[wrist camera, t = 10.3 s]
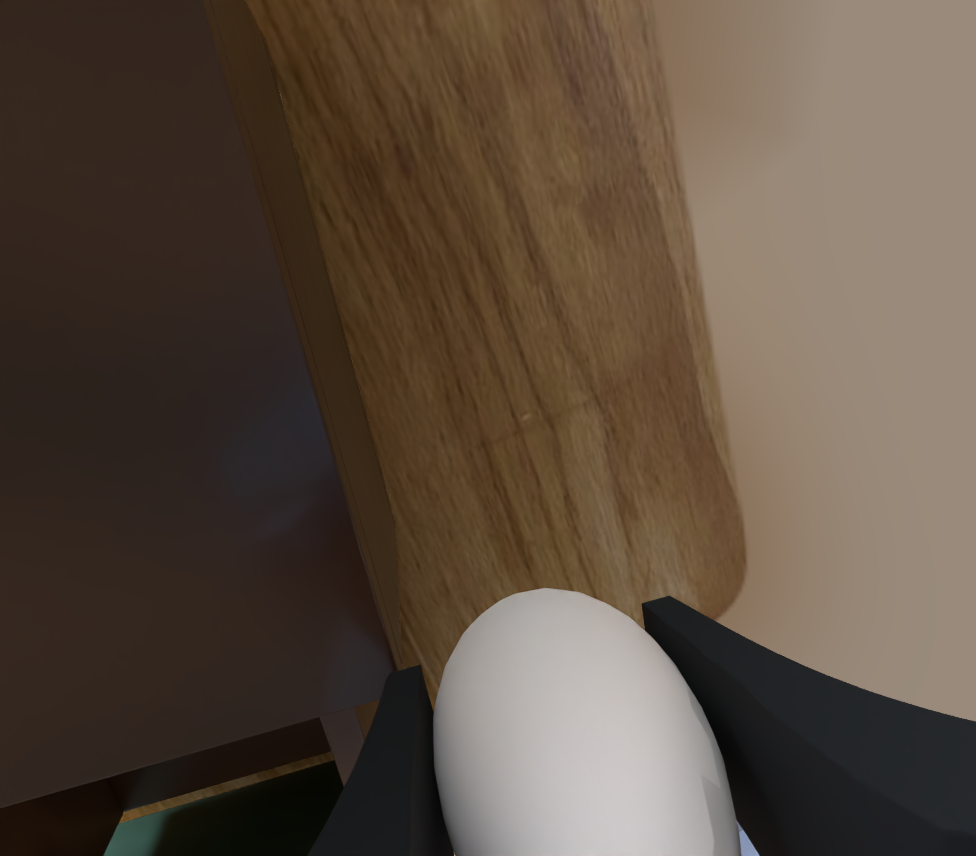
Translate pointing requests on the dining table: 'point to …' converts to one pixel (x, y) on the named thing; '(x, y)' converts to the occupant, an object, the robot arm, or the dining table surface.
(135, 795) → the drawer
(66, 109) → the cabinet
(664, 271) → the dining table surface
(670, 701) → the egg
